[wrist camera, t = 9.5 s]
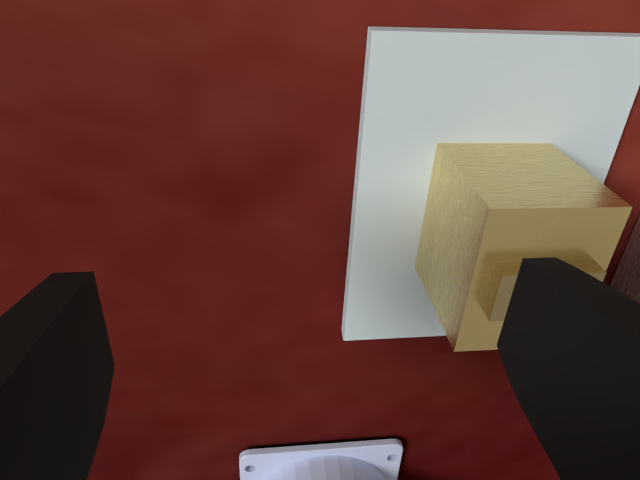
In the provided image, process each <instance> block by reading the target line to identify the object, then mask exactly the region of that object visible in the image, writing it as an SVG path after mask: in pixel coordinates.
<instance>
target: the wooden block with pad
mask: <svg viewBox="0 0 640 480" xmlns="http://www.w3.org/2000/svg"><path fill="white" fill-rule="evenodd" d="M631 210H632V206H631V205H629V204H628V203H627V202H625V201H624V200H623V199H622V198H620V197H619V196H618V195H616V194H615V193H614V192H613V191H611V190H610V189H609V188H607V187H606V186H605V185H604V184H602V183H601V182H600V181H598V180H597V179H596V178H595V177H593V176H592V175H591V174H589V173H588V172H587V171H586V170H584V169H583V168H582V167H580V166H579V165H578V164H577V163H575V162H574V161H573V160H571V159H570V158H569V157H568V156H566V155H565V154H564V153H562V152H561V151H560V150H559V149H557V148H556V147H555V146H553V145H552V144H551V143H437V146H436V151H435V157H434V162H433V168H432V174H431V179H430V185H429V190H428V196H427V201H426V207H425V213H424V218H423V224H422V229H421V235H420V240H419V246H418V252H417V257H416V263H415V269H416V271H417V274H418V276H419V278H420V280H421V282H422V284H423V286H424V288H425V291H426V293H427V295H428V297H429V299H430V301H431V303H432V306H433V308H434V310H435V312H436V314H437V316H438V318H439V321H440V323H441V325H442V327H443V329H444V331H445V333H446V336H447V338H448V340H449V342H450V344H451V346H452V348H453V351H454V352H456V351H477V350H498V348H497V342H498V339H499V335H500V332H501V329H502V325H503V322H504V319H505V315H506V312H507V309H508V305H509V302H510V299H511V295H512V292H513V289H514V285H515V282H516V279H517V275H518V272H519V269H520V265H521V262H522V259H523V258H547V257H556V258H558V259H560V260H562V261H564V262H567V263H569V264H571V265H573V266H574V267H576V268H578V269H580V270H582V271H584V272H586V273H587V274H589V275H591V276H593V277H595V278H596V279H598V280H600V281H602V282H603V280H604V278H605V275H606V273H607V272H606V270H607V268H608V265H609V263H610V260H611V258H612V255H613V253H614V251H615V248H616V246H617V243H618V241H619V239H620V236H621V234H622V231H623V229H624V227H625V224H626V222H627V219H628V217H629V215H630V212H631Z"/></svg>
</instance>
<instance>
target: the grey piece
mask: <svg viewBox="0 0 640 480" xmlns="http://www.w3.org/2000/svg"><path fill="white" fill-rule="evenodd" d="M610 287H612V288H614V289H615V290H617V291H619V292H621V293H622V294H624V295H626V296H627V297H629V298H631V299H633V300H634V301H636V302H638V303H639V304H640V215H639V218H638V220H637V223H636V225H635V227H634V230H633V232H632V235H631V237H630V239H629V242H628V244H627V246H626V249H625V251H624V254H623V256H622V258H621V261H620V263H619V265H618V268H617V270H616V273H615V275H614V277H613V280H612V282H611V285H610Z"/></svg>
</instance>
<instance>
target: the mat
mask: <svg viewBox="0 0 640 480" xmlns="http://www.w3.org/2000/svg"><path fill="white" fill-rule="evenodd" d="M639 85H640V33H606V32H566V31H527V30H488V29H448V28H409V27H369V26H368V34H367V45H366V56H365V68H364V79H363V91H362V102H361V113H360V125H359V136H358V148H357V159H356V171H355V182H354V193H353V205H352V216H351V228H350V239H349V251H348V262H347V273H346V285H345V296H344V308H343V319H342V330H341V331H342V335H343V340H344V341H347V340H367V339H387V338H407V337H427V336H446V333H445V331H444V329H443V327H442V325H441V323H440V321H439V318H438V316H437V314H436V312H435V310H434V308H433V306H432V303H431V301H430V299H429V297H428V295H427V293H426V291H425V288H424V286H423V284H422V282H421V280H420V278H419V276H418V274H417V271H416V269H415V263H416V257H417V252H418V246H419V240H420V235H421V229H422V224H423V218H424V213H425V207H426V201H427V196H428V190H429V185H430V179H431V174H432V168H433V162H434V157H435V151H436V146H437V143H551V144H552V145H553V146H555V147H556V148H557V149H559V150H560V151H561V152H562V153H564V154H565V155H566V156H568V157H569V158H570V159H571V160H573V161H574V162H575V163H577V164H578V165H579V166H580V167H582V168H583V169H584V170H586V171H587V172H588V173H589V174H591V175H592V176H593V177H595V178H596V179H597V180H598V181H600V182H601V183H602V184H604V181H605V179H606V176H607V173H608V170H609V168H610V165H611V162H612V159H613V157H614V154H615V151H616V148H617V146H618V143H619V140H620V137H621V135H622V132H623V129H624V127H625V124H626V121H627V118H628V116H629V113H630V110H631V107H632V105H633V102H634V99H635V96H636V94H637V91H638V88H639Z"/></svg>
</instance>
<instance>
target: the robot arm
mask: <svg viewBox="0 0 640 480" xmlns="http://www.w3.org/2000/svg"><path fill="white" fill-rule="evenodd" d="M497 348H498V351H499V353H500V356H501V359H502V362H503V365H504V367H505V370H506V373H507V375H508V378H509V380H510V383H511V385H512V388H513V390H514V393H515V395H516V397H517V399H518V401H519V403H520V405H521V407H522V409H523V411H524V413H525V415H526V417H527V418H528V420H529V422H530V424H531V426H532V428H533V430H534V431H535V433H536V435H537V437H538V439H539V441H540V443H541V444H542V446H543V448H544V450H545V452H546V453H547V455H548V457H549V459H550V461H551V463H552V464H553V466H554V468H555V470H556V472H557V474H558V475H559V477H560V479H561V480H640V304H639V303H638V302H636V301H634V300H633V299H631V298H629V297H627V296H626V295H624V294H622V293H621V292H619V291H617V290H615V289H614V288H612V287H610V286H609V285H607V284H605V283H603V282H602V281H600V280H598V279H596V278H595V277H593V276H591V275H589V274H587V273H586V272H584V271H582V270H580V269H578V268H576V267H574V266H573V265H571V264H569V263H567V262H564V261H562V260H560V259H558V258H556V257H547V258H523V259H522V262H521V265H520V269H519V272H518V275H517V279H516V282H515V285H514V289H513V292H512V295H511V299H510V302H509V305H508V309H507V312H506V315H505V319H504V322H503V325H502V329H501V332H500V335H499V339H498V342H497ZM113 371H114V361H113V356H112V352H111V347H110V343H109V339H108V334H107V330H106V325H105V321H104V316H103V312H102V307H101V303H100V299H99V294H98V290H97V285H96V281H95V276H94V272H68V273H52V274H51V275H50V276H49V277H47V278H46V279H45V280H43V281H42V282H41V283H40V284H38V285H37V286H36V287H35V288H34V289H33V290H31V291H30V292H29V293H28V294H27V295H25V296H24V297H23V298H22V299H21V300H20V301H18V302H17V303H16V304H15V305H14V306H13V307H11V308H10V309H9V310H8V311H7V312H6V313H4V314H3V315H2V316H1V317H0V480H87V477H88V474H89V471H90V468H91V465H92V461H93V458H94V455H95V452H96V448H97V445H98V442H99V439H100V435H101V432H102V429H103V425H104V422H105V416H106V411H107V406H108V401H109V395H110V389H111V383H112V377H113ZM402 453H403V446H402V443H401V441H400V440H398V439H380V440H366V441H353V442H339V443H326V444H312V445H299V446H285V447H271V448H258V449H248V450H245V451H243V452H242V453H241V454H240V456H239V466H240V480H397V478H398V473H399V468H400V463H401V458H402Z"/></svg>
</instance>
